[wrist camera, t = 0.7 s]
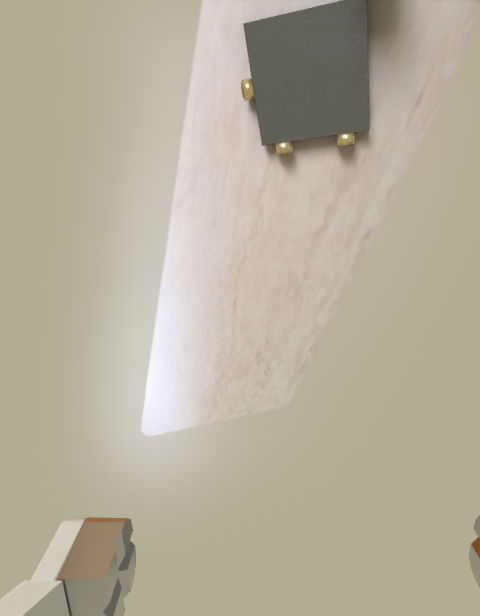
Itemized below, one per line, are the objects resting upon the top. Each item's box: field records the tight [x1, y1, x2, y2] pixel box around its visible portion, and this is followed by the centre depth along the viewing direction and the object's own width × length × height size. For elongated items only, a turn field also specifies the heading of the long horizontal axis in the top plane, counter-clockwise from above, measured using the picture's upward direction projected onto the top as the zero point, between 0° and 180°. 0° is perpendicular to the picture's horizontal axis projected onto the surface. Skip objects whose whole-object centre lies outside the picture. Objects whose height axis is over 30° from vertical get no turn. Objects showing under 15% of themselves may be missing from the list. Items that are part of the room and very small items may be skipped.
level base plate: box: [241, 0, 369, 155], centre depth 44 cm, size 13×13×2 cm
